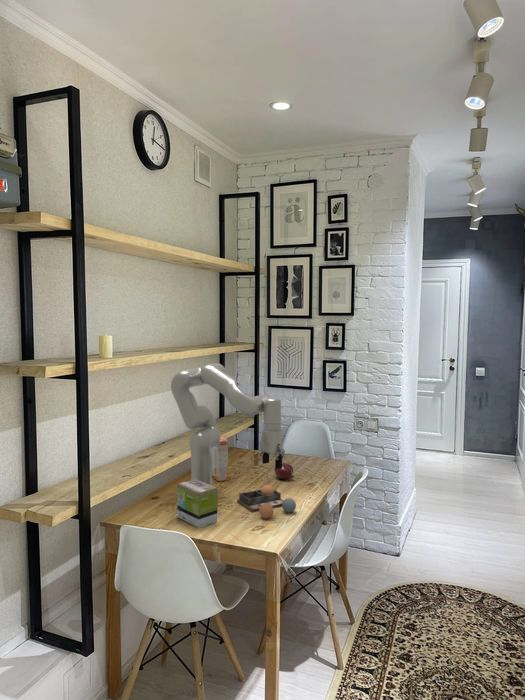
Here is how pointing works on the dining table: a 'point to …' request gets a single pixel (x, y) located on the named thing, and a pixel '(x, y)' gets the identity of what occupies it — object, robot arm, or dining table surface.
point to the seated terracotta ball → (267, 490)
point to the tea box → (197, 502)
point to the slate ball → (288, 505)
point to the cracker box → (220, 460)
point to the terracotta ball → (266, 511)
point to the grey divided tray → (259, 500)
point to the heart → (284, 471)
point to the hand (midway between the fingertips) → (272, 465)
